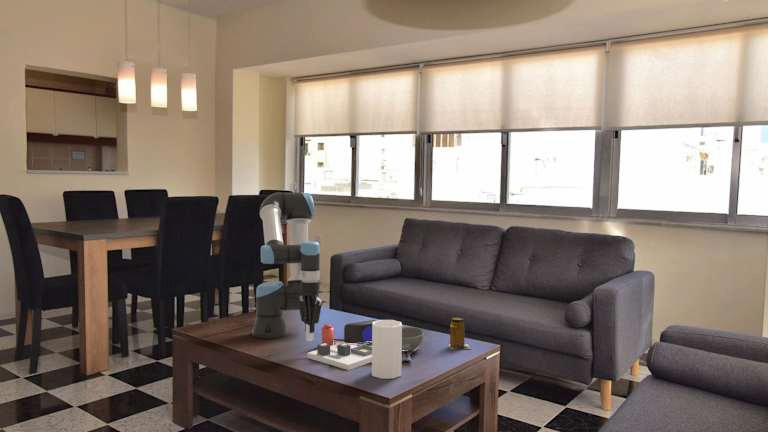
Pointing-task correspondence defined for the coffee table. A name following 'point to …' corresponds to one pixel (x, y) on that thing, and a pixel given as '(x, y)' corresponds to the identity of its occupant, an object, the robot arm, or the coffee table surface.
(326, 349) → the breaker
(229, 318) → the coffee table surface
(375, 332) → the white canister
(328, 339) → the cap
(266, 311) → the robot arm
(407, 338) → the bowl
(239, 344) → the coffee table surface
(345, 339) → the leaning round-cornered charcoal block
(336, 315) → the coffee table surface
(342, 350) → the breaker
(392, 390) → the coffee table surface
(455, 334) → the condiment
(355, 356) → the panel
